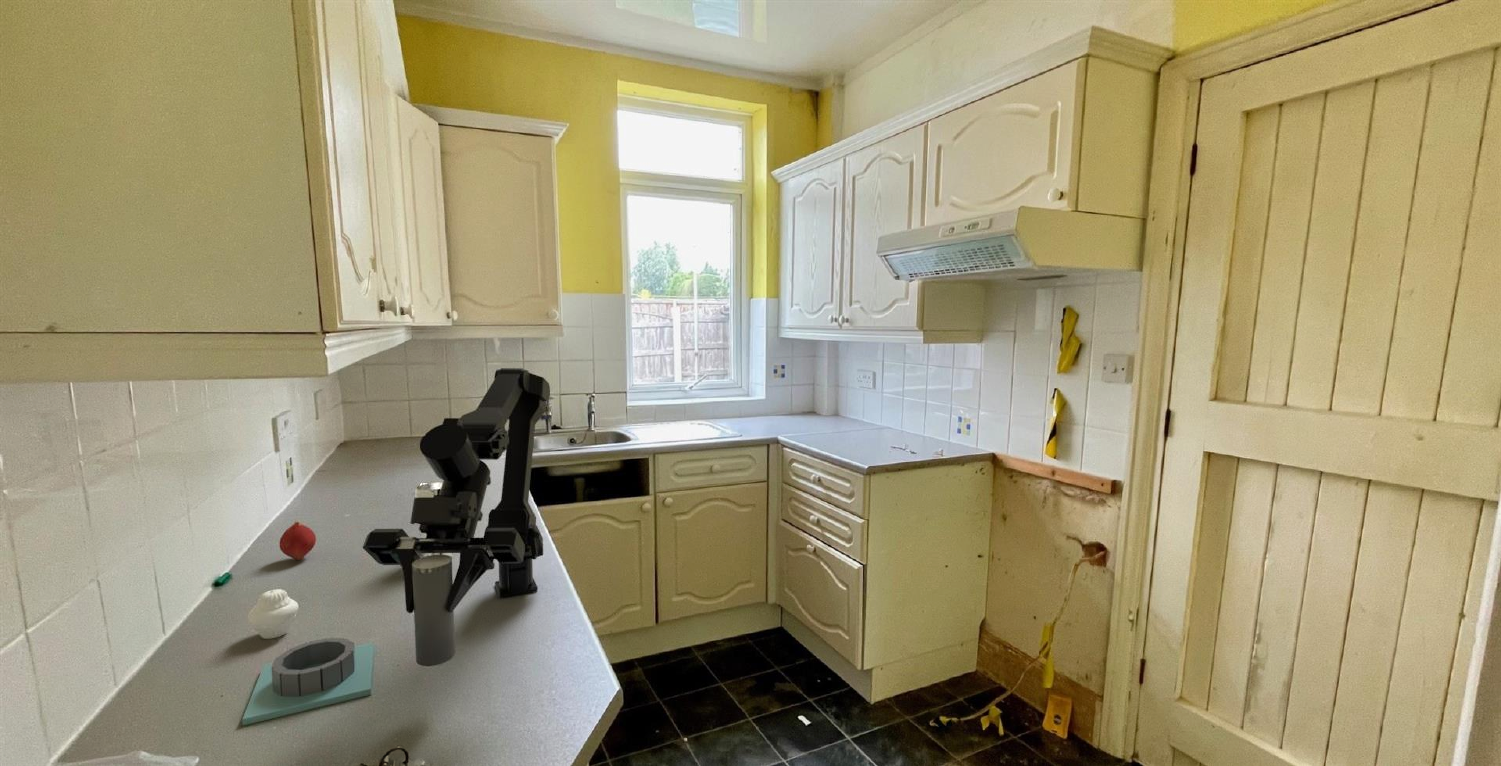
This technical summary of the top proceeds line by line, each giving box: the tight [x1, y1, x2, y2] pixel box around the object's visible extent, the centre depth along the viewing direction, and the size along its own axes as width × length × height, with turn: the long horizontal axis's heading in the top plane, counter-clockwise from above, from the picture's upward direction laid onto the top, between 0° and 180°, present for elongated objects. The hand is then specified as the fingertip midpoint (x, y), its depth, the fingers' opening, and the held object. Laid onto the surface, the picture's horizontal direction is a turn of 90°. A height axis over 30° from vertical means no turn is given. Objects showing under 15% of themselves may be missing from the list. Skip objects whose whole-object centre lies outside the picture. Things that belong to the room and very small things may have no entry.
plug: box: [412, 555, 456, 667], centre depth 77 cm, size 4×4×12 cm
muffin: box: [247, 588, 299, 640], centre depth 94 cm, size 6×6×7 cm
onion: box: [279, 520, 317, 561], centre depth 122 cm, size 6×6×8 cm
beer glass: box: [414, 480, 454, 558], centre depth 124 cm, size 7×7×15 cm
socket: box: [242, 637, 376, 726], centre depth 82 cm, size 13×13×4 cm
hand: (429, 611), depth 76 cm, fingers closed on plug, 4 cm apart
